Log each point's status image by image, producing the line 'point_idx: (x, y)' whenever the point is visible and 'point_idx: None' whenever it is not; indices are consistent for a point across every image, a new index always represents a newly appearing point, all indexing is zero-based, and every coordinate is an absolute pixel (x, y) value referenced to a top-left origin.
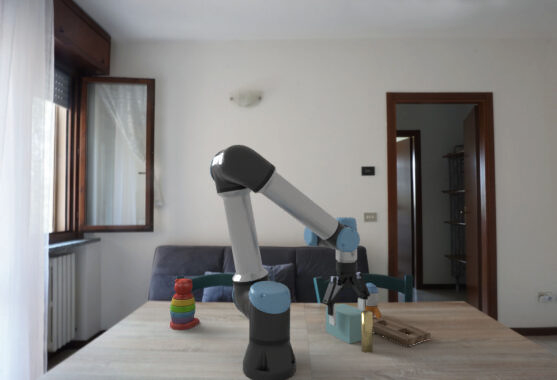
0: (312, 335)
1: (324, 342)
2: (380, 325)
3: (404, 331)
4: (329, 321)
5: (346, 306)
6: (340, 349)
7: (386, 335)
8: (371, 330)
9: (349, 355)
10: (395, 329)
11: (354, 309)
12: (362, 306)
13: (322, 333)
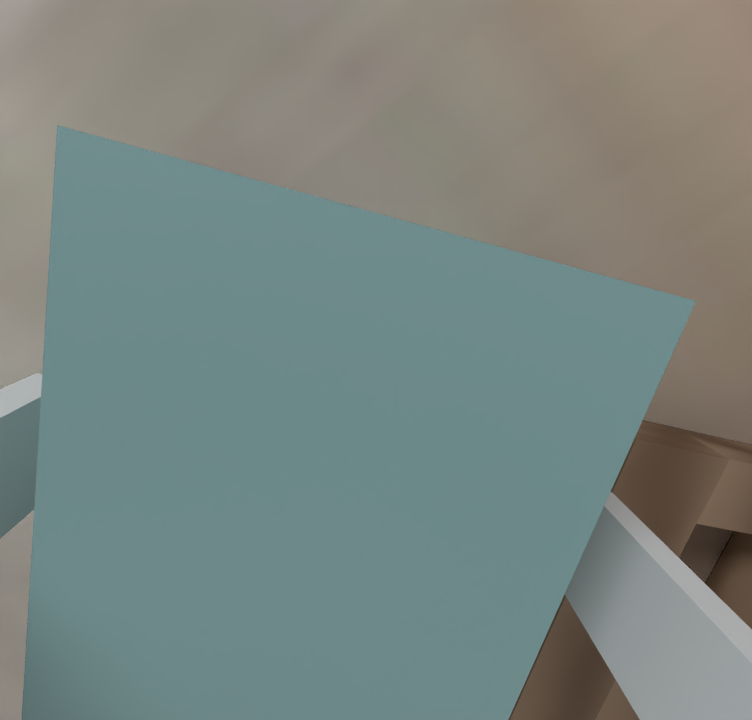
0: (23, 143)
1: (7, 365)
2: None
3: None
4: (13, 389)
5: (512, 483)
6: (26, 543)
7: None
8: None
9: (6, 640)
10: (609, 713)
11: (437, 682)
12: (657, 716)
13: None
